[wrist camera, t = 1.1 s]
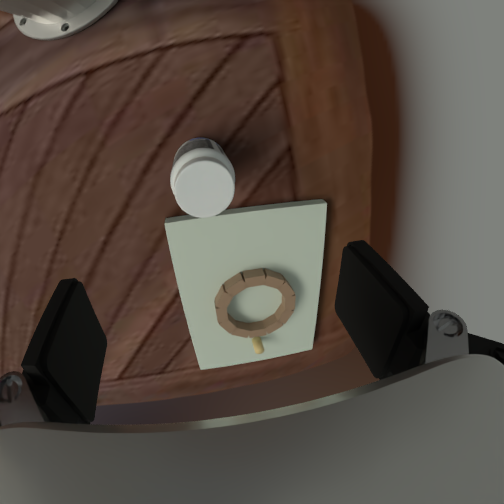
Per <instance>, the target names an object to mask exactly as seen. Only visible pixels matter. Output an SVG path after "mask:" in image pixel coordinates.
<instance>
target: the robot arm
mask: <svg viewBox="0 0 504 504" xmlns="http://www.w3.org/2000/svg"><path fill="white" fill-rule="evenodd" d="M117 2H118V0H0V10H1V11H5V12H8V13H11V14H13V17H14V21H15V24H16V26H17V27H18V29H19V30H20V31H21V32H22V33H23V34H24V35H26V36H28V37H31V38H34V39H38V40H56V39H61V38H64V37H67V36H71V35H73V34H75V33H77V32H79V31H81V30H83V29H85V28H87V27H88V26H90V25H91V24H93V23H95V22H96V21H97V20H98V19H100V18H101V17H102V16H104V15H105V14H106V13H107V12H108V11H109V10H110V9H111V8H112V7H113V6H114V5H115V4H116V3H117ZM68 27H69V28H68ZM67 28H68V30H67ZM428 308H429V307H428V305H427V304H426V303H425V302H424V301H423V300H422V299H421V298H420V297H419V296H418V294H417V293H416V292H415V291H414V290H413V289H412V288H411V287H410V286H409V285H408V284H407V283H406V282H405V281H404V280H403V279H402V278H401V277H400V276H399V275H398V273H397V272H396V271H394V269H393V268H392V267H391V266H390V265H389V264H388V263H387V262H386V261H385V260H384V259H383V258H382V257H381V256H380V255H379V254H378V253H377V252H376V251H375V250H373V248H372V247H371V246H370V245H369V244H367V243H366V242H365V241H364V240H360V241H353V242H349V243H348V244H347V246H346V247H344V248H343V253H342V261H341V268H340V275H339V281H338V288H337V294H336V300H335V311H336V313H337V315H338V317H339V318H340V320H341V322H342V323H343V325H344V327H345V328H346V330H347V331H348V333H349V335H350V336H351V338H352V340H353V341H354V343H355V345H356V347H357V348H358V350H359V352H360V353H361V355H362V357H363V358H364V360H365V362H366V363H367V365H368V367H369V368H370V370H371V372H372V374H373V375H374V377H375V378H379V379H380V380H379V381H376V382H373V383H370V384H367V385H364V386H361V387H358V388H355V389H352V390H349V391H345V392H342V393H338V394H335V395H332V396H328V397H324V398H320V399H317V400H312V401H309V402H305V403H301V404H296V405H292V406H287V407H283V408H278V409H273V410H269V411H263V412H257V413H252V414H246V415H240V416H233V417H226V418H219V419H212V420H202V421H194V422H182V423H168V424H149V425H92V424H90V422H92V421H93V420H94V417H95V410H96V403H97V397H98V390H99V384H100V379H101V373H102V368H103V363H104V357H105V353H106V348H107V339H106V336H105V334H104V332H103V330H102V328H101V325H100V323H99V321H98V319H97V317H96V314H95V312H94V310H93V308H92V305H91V303H90V301H89V298H88V296H87V293H86V291H85V289H84V286H83V284H82V283H81V282H78V280H77V279H75V278H72V279H64V280H61V281H60V282H59V284H58V286H57V288H56V289H55V291H54V293H53V295H52V297H51V299H50V301H49V303H48V305H47V307H46V309H45V311H44V313H43V315H42V317H41V319H40V322H39V324H38V326H37V328H36V330H35V332H34V335H33V337H32V339H31V342H30V344H29V346H28V349H27V351H26V354H25V356H24V359H23V361H22V364H21V366H22V368H23V369H24V370H23V372H22V374H21V373H20V372H16V371H12V372H8V373H6V374H4V375H3V376H2V377H1V378H0V504H504V344H502V343H499V342H496V341H493V340H489V339H486V338H483V337H479V336H476V335H473V334H469V333H468V332H467V326H466V323H465V322H464V320H463V319H462V318H461V317H460V316H459V315H457V314H455V313H453V312H451V311H448V310H437V311H435V312H433V313H432V314H431V315H430V314H429V313H428V312H427V311H428Z"/></svg>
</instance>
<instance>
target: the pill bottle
mask: <svg viewBox="0 0 504 504" xmlns="http://www.w3.org/2000/svg"><path fill="white" fill-rule="evenodd" d="M170 183H171V188H172V191H173V193H174V195H175V198H176V201H177V203H178V205H179V206H180V207H181V209H182V210H184V211H185V212H186V213H188V214H189V215H191V216H194V217H199V218H208V217H213V216H216V215H218V214H220V213H221V212H222V211H224V210H225V209H226V208H227V207H228V206H229V204H230V203H231V201H232V199H233V196H234V191H235V185H234V184H235V172H234V169H233V166H232V164H231V162H230V161H229V159H228V158H227V156H226V154H225V152H224V151H223V149H222V148H221V147H220V146H219V145H218V144H217V143H216V142H214V141H212V140H210V139H207V138H194V139H191V140H189V141H187V142H185V143H184V144H183V145H182V146H181V147H180V148H179V149H178V151H177V153H176V155H175V158H174V162H173V167H172V171H171V176H170Z"/></svg>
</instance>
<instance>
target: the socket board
mask: <svg viewBox="0 0 504 504" xmlns="http://www.w3.org/2000/svg"><path fill="white" fill-rule="evenodd" d="M326 211H327V203H326V202H325V201H324V200H323V199H317V200H307V201H297V202H287V203H278V204H269V205H260V206H252V207H244V208H236V209H228V210H224V211H222V212H221V213H220V214H218V215H216V216H213V217H208V218H199V217H194V216H191V215H184V216H177V217H171V218H165V229H166V234H167V239H168V243H169V248H170V253H171V257H172V262H173V266H174V271H175V275H176V280H177V284H178V288H179V292H180V296H181V300H182V304H183V308H184V312H185V316H186V320H187V323H188V327H189V331H190V335H191V338H192V342H193V345H194V349H195V352H196V356H197V359H198V363H199V366H200V369H201V370H203V369H210V368H217V367H223V366H230V365H236V364H242V363H248V362H253V361H259V360H264V359H269V358H274V357H279V356H284V355H288V354H293V353H298V352H302V351H306V350H311V349H312V347H313V340H314V332H315V325H316V317H317V309H318V301H319V292H320V283H321V273H322V263H323V252H324V240H325V226H326Z"/></svg>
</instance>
